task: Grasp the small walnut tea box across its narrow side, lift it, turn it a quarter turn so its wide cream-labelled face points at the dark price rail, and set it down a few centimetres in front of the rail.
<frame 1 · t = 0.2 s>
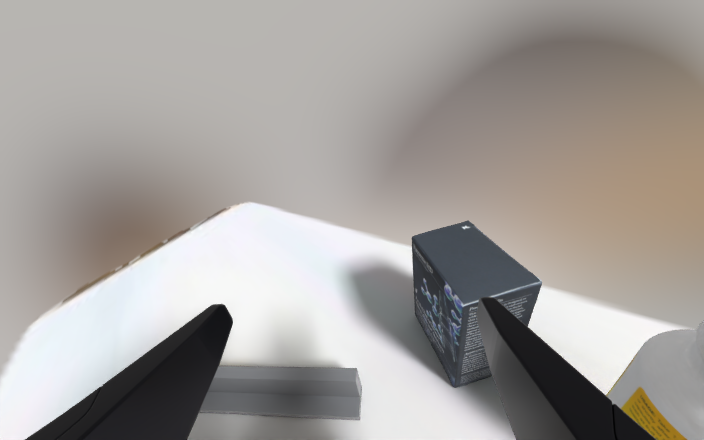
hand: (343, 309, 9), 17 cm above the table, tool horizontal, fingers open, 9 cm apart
price rail: (273, 390, 23), on the table
box: (458, 340, 25), on the table
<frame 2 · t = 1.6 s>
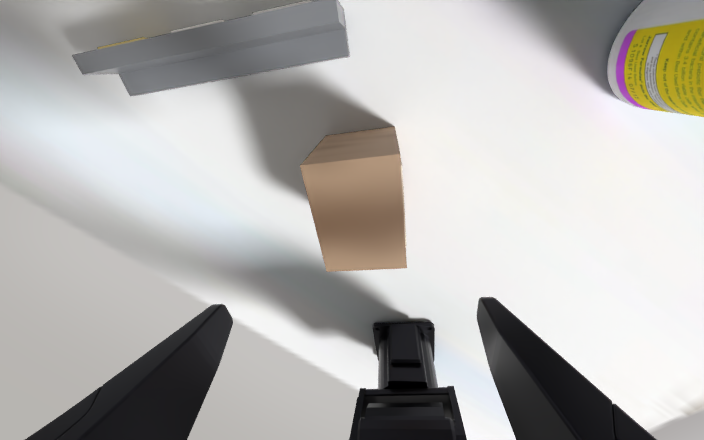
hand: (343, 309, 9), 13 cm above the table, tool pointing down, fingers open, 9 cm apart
price rail: (224, 44, 17), on the table
tea box: (365, 176, 20), on the table
supplement bottle: (667, 43, 15), on the table
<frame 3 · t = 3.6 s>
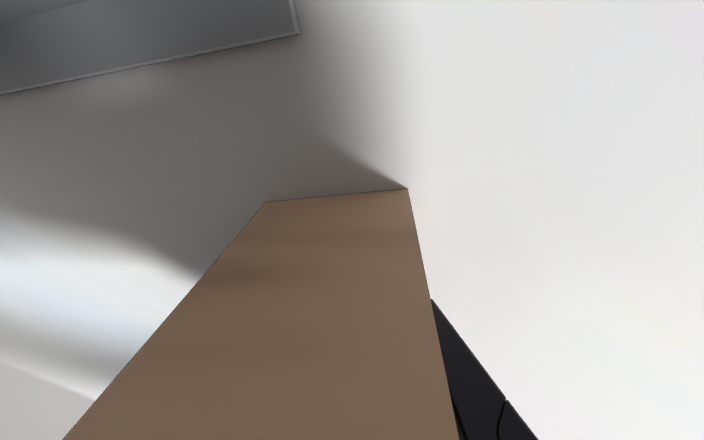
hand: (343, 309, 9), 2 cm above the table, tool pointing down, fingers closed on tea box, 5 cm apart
price rail: (1, 5, 7), on the table
tea box: (349, 272, 11), on the table, touching gripper
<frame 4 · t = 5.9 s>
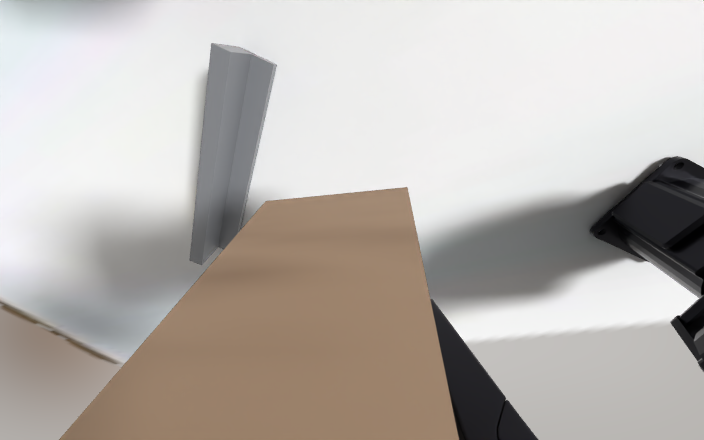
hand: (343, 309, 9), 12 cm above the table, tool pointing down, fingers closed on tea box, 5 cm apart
price rail: (228, 165, 20), on the table
tea box: (349, 271, 11), point 10 cm above the table, touching gripper
when the fingers open (3 cm above the table, at t = 8.6 s): tea box drops 2 cm, on the table.
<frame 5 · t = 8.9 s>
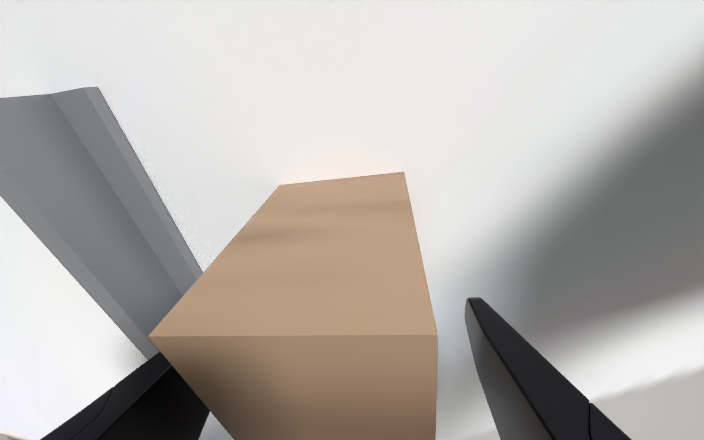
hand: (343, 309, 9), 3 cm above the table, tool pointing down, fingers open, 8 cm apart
price rail: (163, 263, 14), on the table
tea box: (352, 249, 12), on the table
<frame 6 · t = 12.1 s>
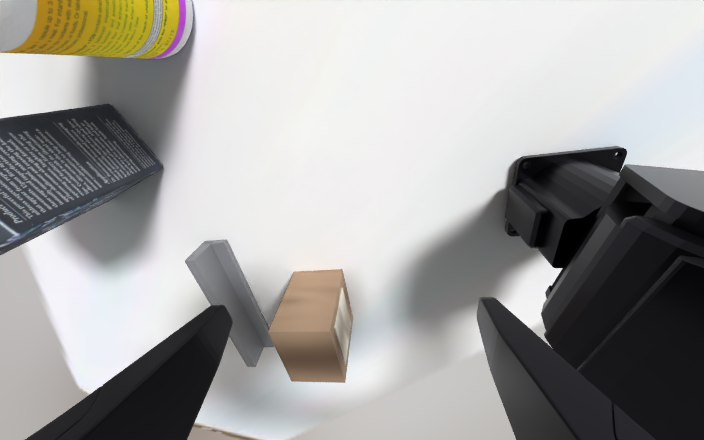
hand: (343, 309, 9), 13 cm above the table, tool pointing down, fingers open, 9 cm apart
price rail: (239, 299, 29), on the table
box: (113, 155, 22), on the table
tea box: (324, 295, 28), on the table
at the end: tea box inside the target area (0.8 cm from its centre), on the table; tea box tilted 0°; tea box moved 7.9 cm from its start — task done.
